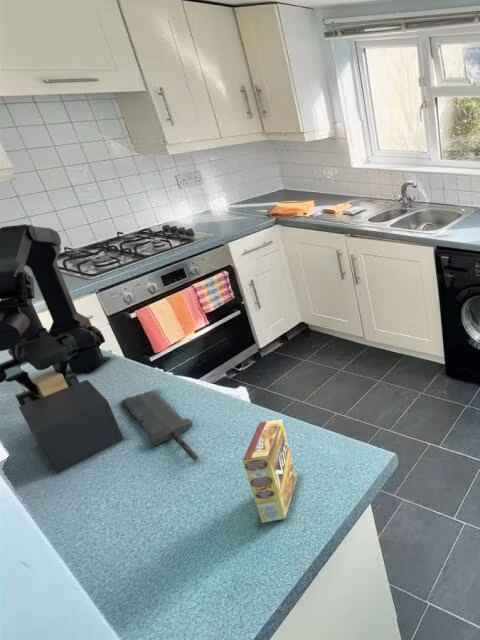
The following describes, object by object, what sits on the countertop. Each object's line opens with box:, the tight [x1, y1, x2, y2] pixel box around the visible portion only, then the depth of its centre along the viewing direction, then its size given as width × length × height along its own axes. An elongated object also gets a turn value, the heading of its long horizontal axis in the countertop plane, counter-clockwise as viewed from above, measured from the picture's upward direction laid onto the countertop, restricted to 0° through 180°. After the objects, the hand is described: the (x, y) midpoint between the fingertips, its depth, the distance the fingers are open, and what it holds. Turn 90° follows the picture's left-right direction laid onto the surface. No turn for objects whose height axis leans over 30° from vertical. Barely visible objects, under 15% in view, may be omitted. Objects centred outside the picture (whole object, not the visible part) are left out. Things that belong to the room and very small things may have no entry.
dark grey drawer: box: [14, 373, 80, 407], centre depth 95 cm, size 16×9×9 cm, turn 57°
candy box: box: [242, 419, 298, 524], centre depth 77 cm, size 9×4×15 cm, turn 13°
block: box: [30, 369, 68, 398], centre depth 92 cm, size 4×4×4 cm
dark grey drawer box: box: [18, 379, 125, 474], centre depth 90 cm, size 13×11×11 cm
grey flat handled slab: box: [121, 390, 199, 461], centre depth 96 cm, size 7×35×2 cm, turn 55°
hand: (50, 388), depth 93 cm, fingers closed on block, 4 cm apart
